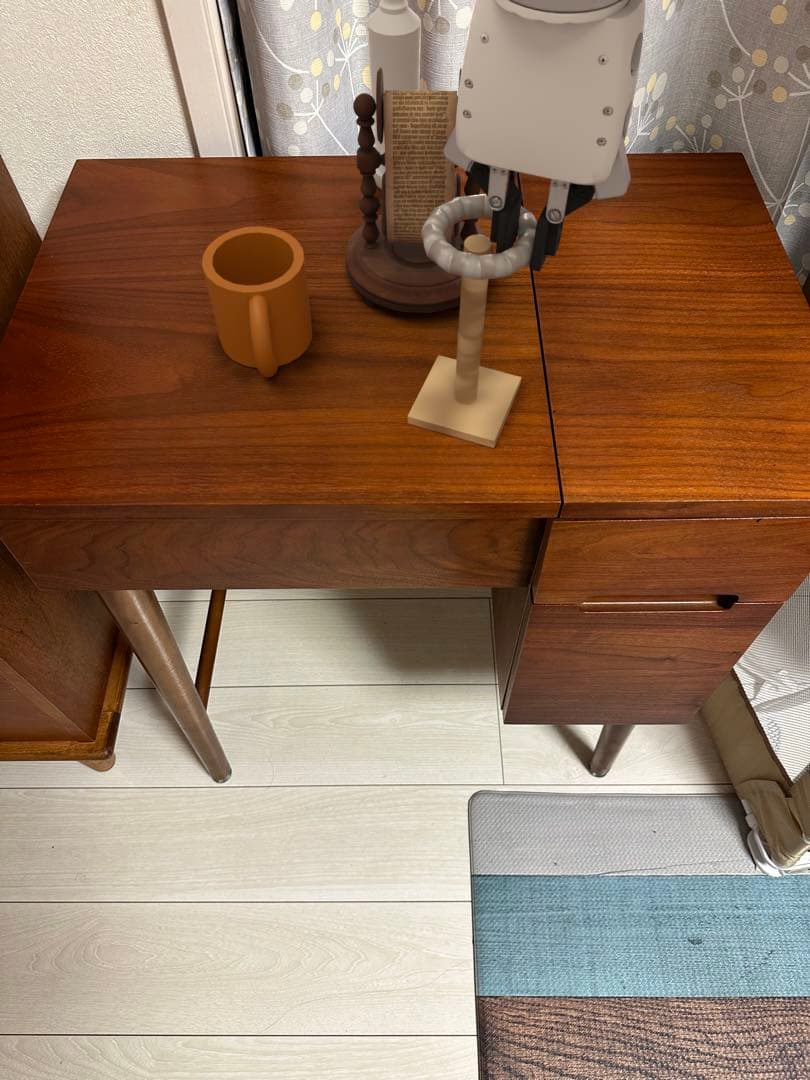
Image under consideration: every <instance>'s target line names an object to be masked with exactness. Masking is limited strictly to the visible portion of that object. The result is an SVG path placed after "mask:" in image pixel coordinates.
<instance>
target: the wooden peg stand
mask: <svg viewBox="0 0 810 1080" xmlns="http://www.w3.org/2000/svg"><path fill="white" fill-rule="evenodd" d="M491 247H493V242H491V241H490V237H489V236H488V237H486V236H483V235H472V236H469V237H468V238H466V240H465V241H464V251H463V252H466V253H470V254H475V255H479V256H481V255H489V254H491ZM488 285H489V282H488V279H485V280H474V279H470V278H466V277H462V282H461V298H460V305H459V314H458V315H459V316H458V329H457V331H458V332H457V345H456V359H455V358H452V357H448V356H444V355H440V354H438V356H437V357H436V359H435V361H434V363H433V365H432V367H431V369H430V371H429V373H428V375H427V376H426V378H425V381H424V383H423V385H422V387H421V389H420V391H419V392H418V394H417V397H416V398H415V401H414V402H413V404H412V407H411V408H410V411H409V413H408V414H407V424H409V425H412V426H416V427H418V428H422V429H426V430H429V431H434V432H436V433H440V434H443V435H447V436H450V437H453V438H456V439H461V440H463V441H468V442H470V443H474V444H478V445H481V446H485V447H488V448H492V449H495V447H496V444H497V442H498V441H499V437H500V434H501V432H502V430H503V427H504V425H505V423H506V421H507V418H508V415H509V413H510V411H511V408H512V406H513V403H514V402H515V399H516V396H517V394H518V392H519V389H520V387H521V384H522V376H518V375H514V374H512V373H511V374H510V373H507V372H504V371H500V370H496V369H493V368H488V367H486V366H485V367H484V366H481V360H482V359H481V358H482V349H483V337H484V328H485V327H484V326H485V317H486V307H487V297H488V287H489V286H488Z"/></svg>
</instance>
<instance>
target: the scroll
mask: <svg viewBox="0 0 810 1080" xmlns="http://www.w3.org/2000/svg"><path fill="white" fill-rule="evenodd" d="M461 71H462V67H460V69H459V72H458V73H459V74H458V89H457V90H425V89H423V90H420V89H419V90H385V93H384V81H383V69H382V68H379V70H378V71H377V82H376V102H375V100H374V98H373V97H372V96H371V94H369V93H366V92H363V93H360V94H358V95H357V96H356V97H355V99H354V100H353V104H352V108H353V112H354V114H355V116H356V117H357V118H356V120H355V124H356V125H357V126H359V131H358V135H357V144H358V146H359V147H357V149H356V168H357V169H358V171H359V174H360V176H362V177H361V178H362V179H361V183H360V186H359V187H360V192H361V194H362V196H361V197H360V199H359V200H358V206H359V210H360V211H361V213H362V215H361V220H362V221H363V222H364V223H363V224H362V225H360V227H358V228H357V229H356V230H355V232H353V234H352V235H351V237H350V239H349V240H348V242H347V245H346V247H345V253H344V254H345V255H344V258H345V271H346V275H347V277H348V279H349V282H350V283H351V285H352V286H353V287H354V288H355V290H356V291H357V292H358V293H359V294H360V295H361V296H363V297H364V300H365V303H366V304H367V305H368V306H369V307H372V306H374V305H375V304H376V305H378V306H380V307H384V308H386V309H390V310H393V311H397V312H402V313H410V314H426V313H428V314H429V313H437V312H442V311H446V310H450V309H453V308H457V307H460V298H461V282H462V276H457V275H453V274H450V273H448V272H446V271H445V270H444V269H442V268H441V267H440V266H438V265H437V264H436V263H435V262H433V261H432V260H431V259H429V258H428V256H427V254H426V251H425V248H424V244H423V240H422V236H421V230H422V228H423V226H424V224H425V223H426V221H427V219H428V217H429V216H430V214H431V212H432V211H433V210H434V209H435V208H437V207H439V206H441V205H443V204H444V203H446V202H448V201H450V200H452V199H454V198H456V197H461V193H462V192H461V190H462V189H461V187H462V185H461V184H462V183H461V182H462V181H461V179H462V178H461V174H460V172H459V171H456V173H455V170H456V169H457V168H459V167H458V166H457V165H455V164H454V163H452V162H451V161H449V160H447V159H446V158H445V156H444V155H443V150H444V147H445V145H446V143H447V141H448V139H449V137H450V135H451V133H452V131H453V129H454V127H455V125H456V114H457V103H458V94H459V86H460V79H461ZM375 111H376V124H377V139H378V141H379V142H380V144H382V143H383V134H384V143H385V153H383V154H382V155H381V154H380V152H379V151H377V149H376V148H375V147H374V144H375V137H374V133H373V124H374V123H375V120H374V118H373V117H372V116H373V115H374V113H375ZM380 165H383V166H384V167H385V172H384V174H383V175H382V190H381V197H380V198H381V202H380V199H379V198H378V196H377V195H376V193H377V190H378V186H377V184H376V181H375V178H374V174H375V173H376V169H377V168H379V167H380ZM464 171H465V170H464ZM464 173H465V176H466V177H467V179H466V181H465V184H464V187H463V192H464V196H471V195H480V194H481V190H482V189H481V188H480V187H479V185H478V184H477V183H476V181H475V180H474V179H473V178H472V176H471V174H470V172H469V171H465V172H464ZM380 207H381V209H380ZM379 210H381V212H380V213H381V214H377V213H378V211H379ZM478 221H479V218H476V219H467V220H461V221H460V222H458V223H456V224H454V225H452V226H450V227H448V229H447V231H446V233H445V234H444V235H445V238H446V242H448V243H449V244H450V245H452V246H453V247H454V248H456V249H457V250H458V251H462V252H463V251H464V241H465V240H466V238H468V237H469V236H472V235H483V236H486V237H488V238H489V236H488V235H487V234H486V233H485V231H484V230H483V229H482V228H481V227H479V225H478V224H476V223H477V222H478ZM491 254H495V250H494V247H493V246H492V247H491ZM490 280H491V279H488V283H489V282H490Z"/></svg>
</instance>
